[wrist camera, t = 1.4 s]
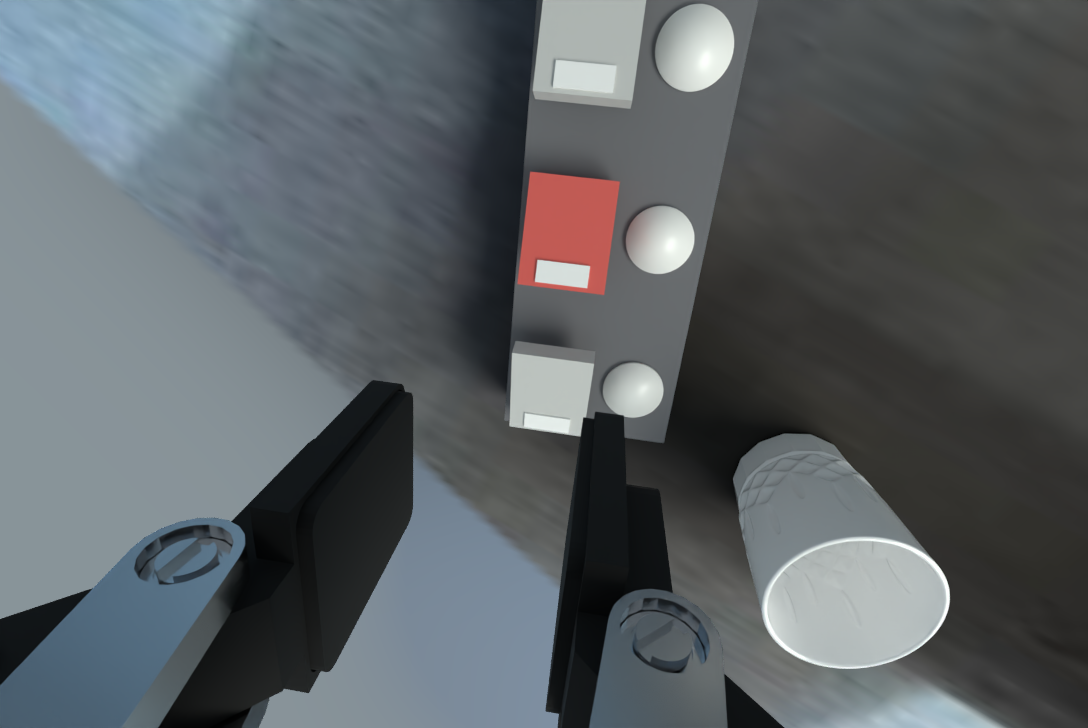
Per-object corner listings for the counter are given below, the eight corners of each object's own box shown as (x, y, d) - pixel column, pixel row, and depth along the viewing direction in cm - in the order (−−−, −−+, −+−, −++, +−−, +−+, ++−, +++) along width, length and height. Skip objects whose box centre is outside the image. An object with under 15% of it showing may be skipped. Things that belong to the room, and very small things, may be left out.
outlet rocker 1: (549, -31, 22) (547, -47, 21) (648, -23, 22) (651, -39, 21) (535, 98, 23) (532, 89, 22) (630, 108, 23) (632, 100, 22)
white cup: (699, 500, 35) (729, 629, 26) (768, 402, 32) (829, 509, 23) (807, 548, 36) (874, 691, 27) (886, 455, 33) (992, 582, 23)
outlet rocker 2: (532, 176, 26) (530, 171, 24) (618, 185, 25) (620, 181, 24) (520, 284, 26) (517, 284, 25) (603, 294, 26) (604, 295, 25)
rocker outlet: (515, 340, 27) (511, 354, 27) (595, 351, 27) (594, 365, 26) (512, 413, 31) (509, 427, 30) (584, 423, 30) (582, 438, 29)
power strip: (557, -143, 24) (548, -187, 20) (771, -128, 23) (797, -171, 20) (513, 396, 34) (502, 425, 31) (659, 417, 33) (664, 448, 30)
